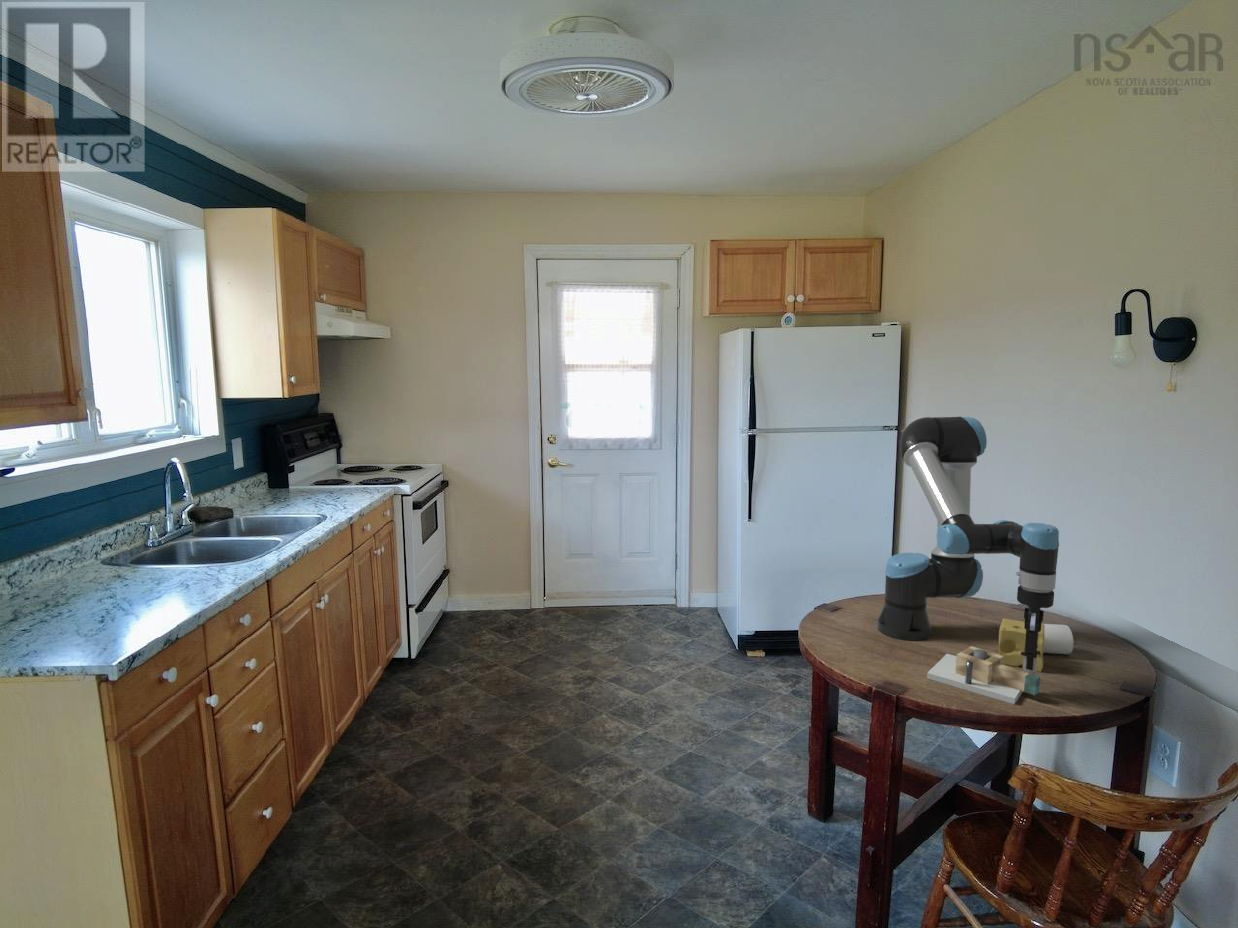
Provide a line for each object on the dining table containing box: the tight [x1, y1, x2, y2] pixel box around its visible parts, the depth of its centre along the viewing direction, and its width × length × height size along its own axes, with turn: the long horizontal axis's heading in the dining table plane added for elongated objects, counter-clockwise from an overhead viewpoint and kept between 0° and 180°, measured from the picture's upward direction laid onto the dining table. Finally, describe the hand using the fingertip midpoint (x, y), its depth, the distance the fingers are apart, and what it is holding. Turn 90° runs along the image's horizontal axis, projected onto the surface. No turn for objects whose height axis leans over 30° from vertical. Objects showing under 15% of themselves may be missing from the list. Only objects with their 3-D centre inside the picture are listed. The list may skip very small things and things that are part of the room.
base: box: [926, 649, 1024, 705], centre depth 171 cm, size 20×16×8 cm
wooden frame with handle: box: [955, 645, 1041, 696], centre depth 168 cm, size 18×8×5 cm, turn 37°
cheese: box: [998, 617, 1045, 673], centre depth 182 cm, size 10×11×10 cm
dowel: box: [965, 661, 973, 684], centre depth 167 cm, size 1×1×6 cm
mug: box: [1043, 623, 1074, 656], centre depth 189 cm, size 12×10×8 cm
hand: (1028, 679), depth 165 cm, fingers closed
